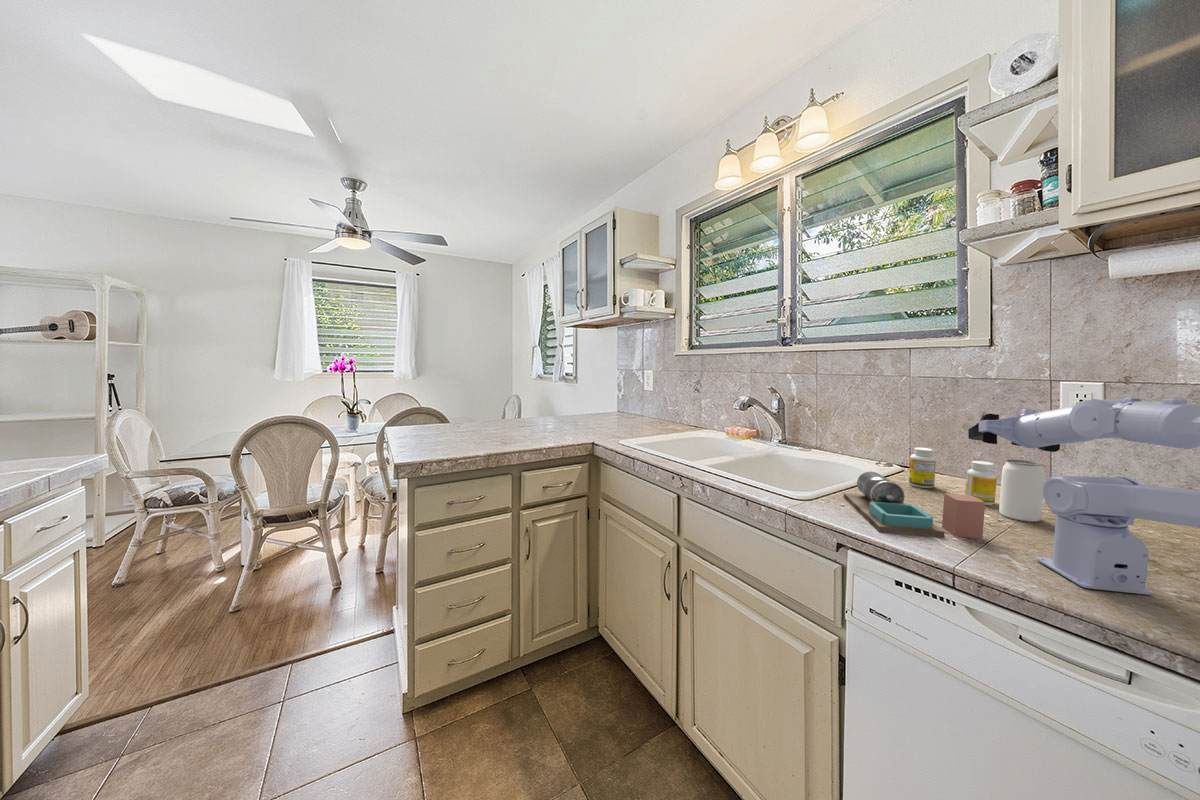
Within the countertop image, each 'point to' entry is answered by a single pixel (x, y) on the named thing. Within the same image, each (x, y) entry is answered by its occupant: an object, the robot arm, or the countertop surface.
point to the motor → (879, 488)
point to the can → (1022, 490)
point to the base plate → (862, 506)
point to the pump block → (963, 515)
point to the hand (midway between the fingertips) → (991, 436)
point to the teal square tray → (915, 520)
